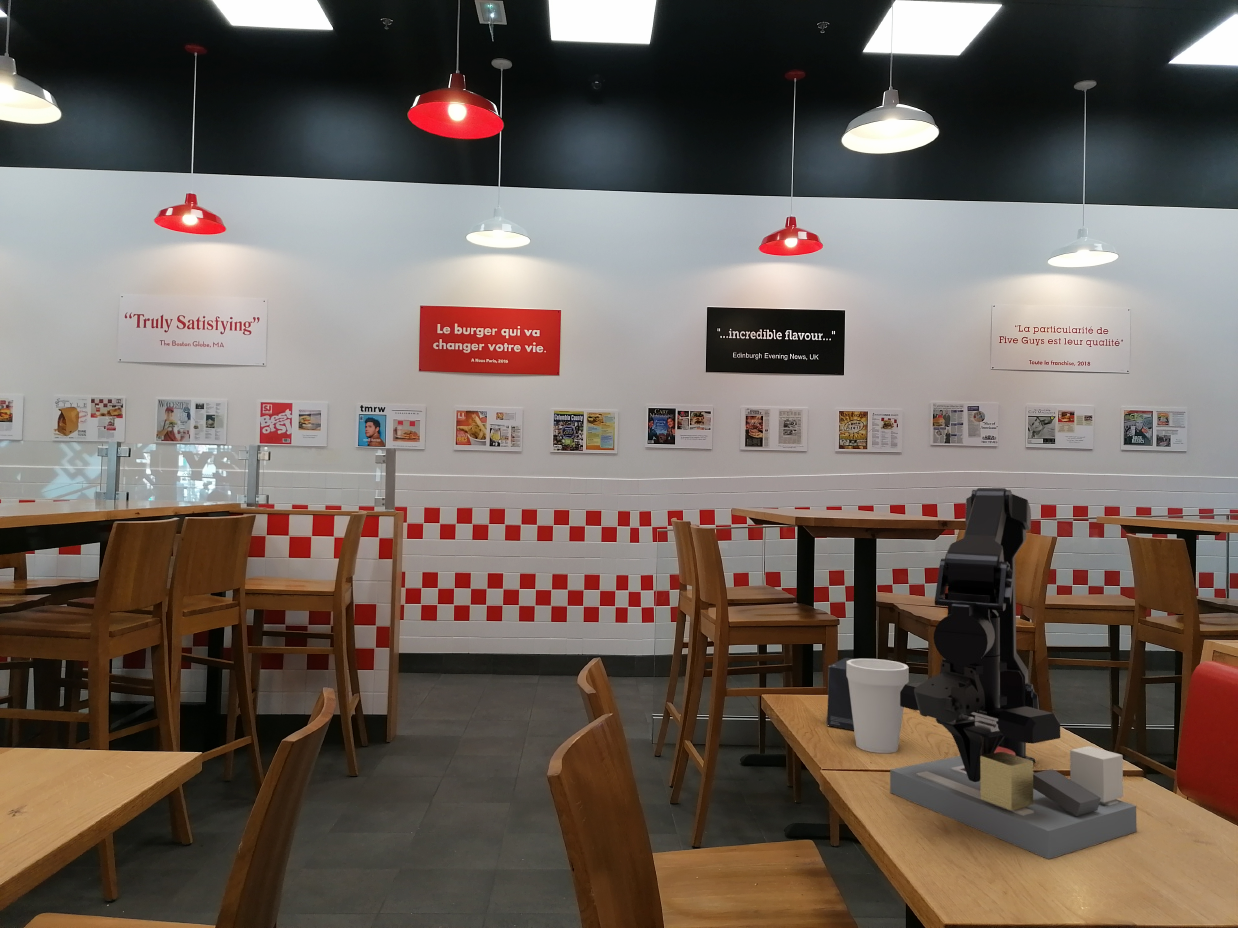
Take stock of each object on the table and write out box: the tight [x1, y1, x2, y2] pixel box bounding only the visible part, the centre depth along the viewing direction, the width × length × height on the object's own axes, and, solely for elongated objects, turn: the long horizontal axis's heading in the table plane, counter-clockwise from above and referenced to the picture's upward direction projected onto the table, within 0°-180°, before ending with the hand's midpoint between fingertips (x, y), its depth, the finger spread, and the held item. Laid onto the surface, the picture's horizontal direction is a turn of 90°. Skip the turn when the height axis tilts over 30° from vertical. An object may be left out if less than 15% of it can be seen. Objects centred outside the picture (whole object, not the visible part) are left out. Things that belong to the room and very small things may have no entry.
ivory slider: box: [1069, 745, 1124, 802], centre depth 96 cm, size 4×4×5 cm
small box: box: [826, 657, 854, 731], centre depth 139 cm, size 11×6×10 cm, turn 148°
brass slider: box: [980, 752, 1034, 810], centre depth 92 cm, size 4×4×5 cm
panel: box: [889, 755, 1138, 860], centre depth 99 cm, size 17×22×3 cm
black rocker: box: [1033, 768, 1101, 816], centre depth 92 cm, size 4×6×2 cm, turn 29°
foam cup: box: [846, 658, 910, 754], centre depth 125 cm, size 10×9×13 cm
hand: (974, 780), depth 96 cm, fingers closed
